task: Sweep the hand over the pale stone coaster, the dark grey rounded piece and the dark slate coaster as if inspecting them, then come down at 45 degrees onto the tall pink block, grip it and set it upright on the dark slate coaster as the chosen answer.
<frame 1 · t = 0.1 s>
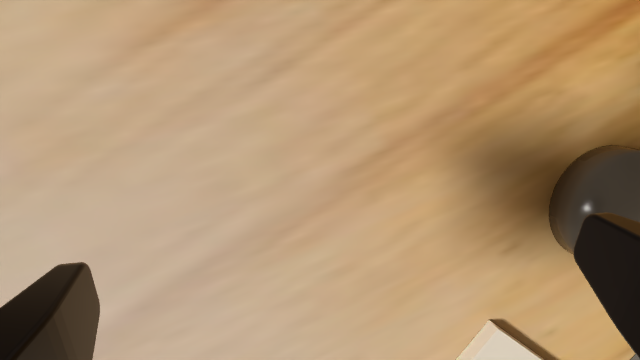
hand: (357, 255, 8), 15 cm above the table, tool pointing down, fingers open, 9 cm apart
dark grey rounded piece: (633, 215, 25), point 2 cm above the table, tilted 180°
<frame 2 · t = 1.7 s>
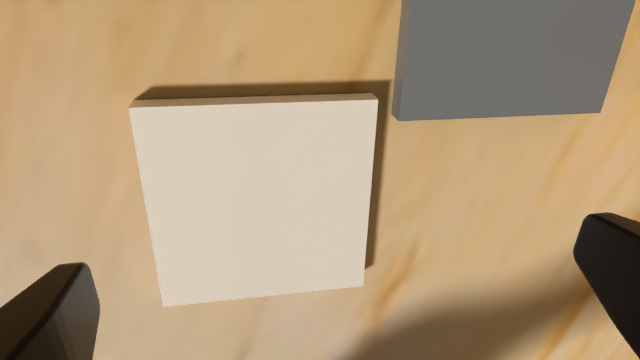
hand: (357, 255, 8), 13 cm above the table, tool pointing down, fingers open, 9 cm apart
stone coaster: (261, 199, 22), on the table
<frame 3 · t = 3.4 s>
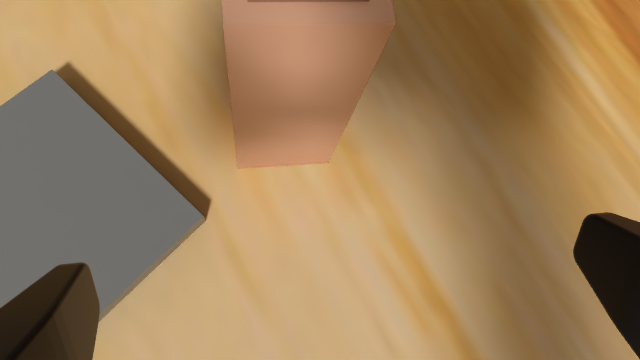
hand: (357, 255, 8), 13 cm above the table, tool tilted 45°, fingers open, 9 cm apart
tall pink block: (279, 123, 23), on the table
slate coaster: (41, 222, 20), on the table
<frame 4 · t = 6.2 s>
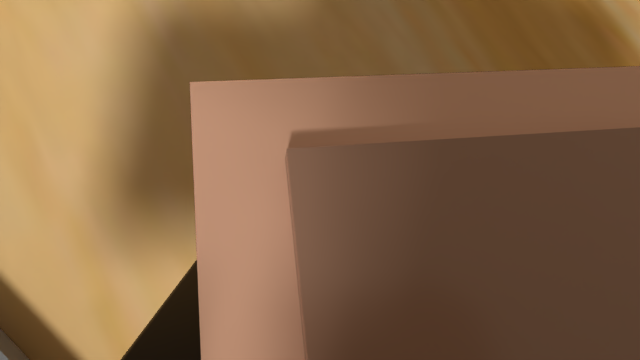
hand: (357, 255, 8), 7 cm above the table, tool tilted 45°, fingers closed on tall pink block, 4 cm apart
tall pink block: (317, 330, 14), on the table, touching gripper
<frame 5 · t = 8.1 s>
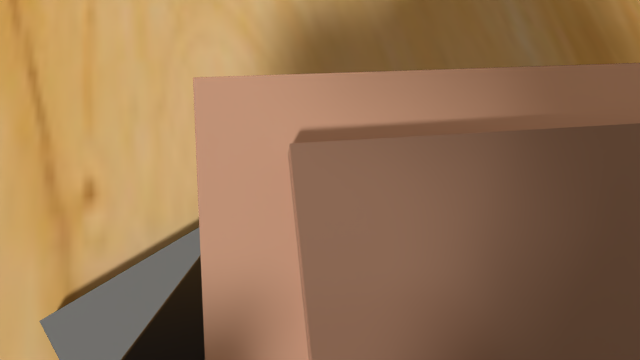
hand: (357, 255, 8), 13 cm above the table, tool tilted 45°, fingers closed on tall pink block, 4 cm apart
tall pink block: (318, 329, 14), point 6 cm above the table, touching gripper
slate coaster: (220, 355, 19), on the table
when the fingers open (9 cm above the table, at t = 9.8 s): tall pink block drops 1 cm, resting on slate coaster.
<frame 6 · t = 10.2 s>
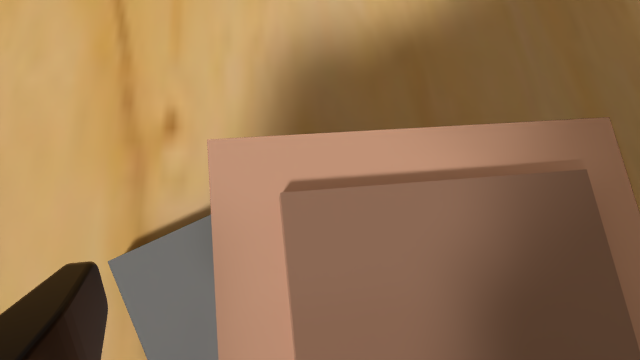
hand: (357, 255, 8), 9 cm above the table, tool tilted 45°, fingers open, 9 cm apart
tall pink block: (313, 329, 15), point 1 cm above the table, touching slate coaster
slate coaster: (309, 328, 16), on the table
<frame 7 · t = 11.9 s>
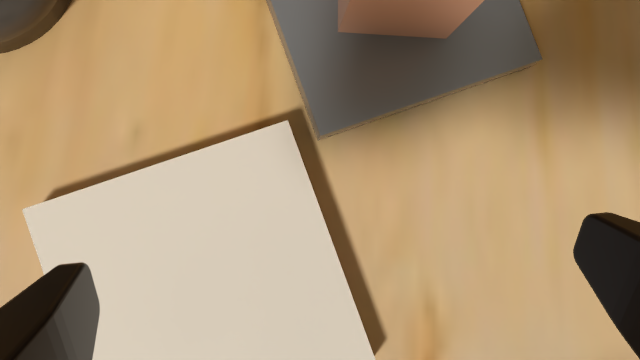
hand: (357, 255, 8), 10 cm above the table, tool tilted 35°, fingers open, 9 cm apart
stone coaster: (208, 286, 18), on the table
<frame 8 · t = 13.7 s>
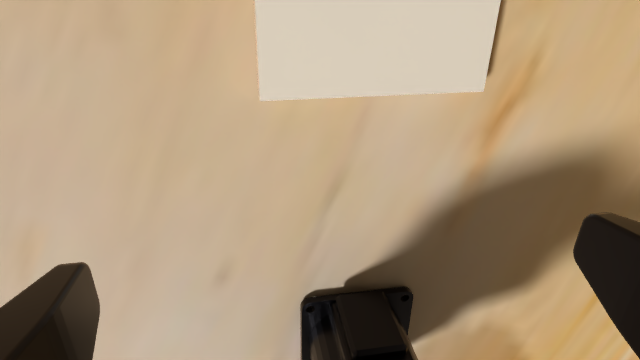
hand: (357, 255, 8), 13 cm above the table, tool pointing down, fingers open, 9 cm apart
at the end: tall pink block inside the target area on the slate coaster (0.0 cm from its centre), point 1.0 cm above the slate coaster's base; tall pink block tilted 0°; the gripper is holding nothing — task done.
